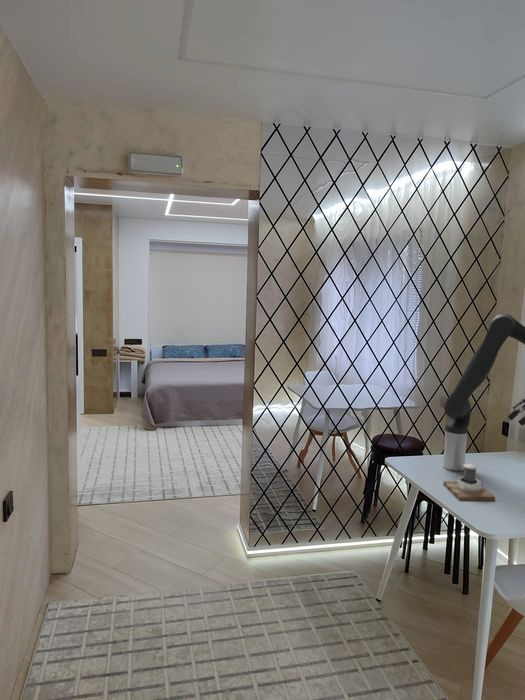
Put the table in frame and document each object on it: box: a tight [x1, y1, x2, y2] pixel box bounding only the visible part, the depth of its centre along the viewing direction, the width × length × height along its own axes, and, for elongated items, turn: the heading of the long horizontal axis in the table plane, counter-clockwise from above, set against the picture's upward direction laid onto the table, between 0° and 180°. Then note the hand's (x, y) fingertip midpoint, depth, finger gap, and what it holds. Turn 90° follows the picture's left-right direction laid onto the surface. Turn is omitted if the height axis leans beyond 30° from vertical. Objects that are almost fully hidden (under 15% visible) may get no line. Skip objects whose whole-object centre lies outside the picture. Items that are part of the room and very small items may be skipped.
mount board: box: [443, 480, 496, 502], centre depth 201 cm, size 16×14×2 cm
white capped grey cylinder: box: [462, 463, 478, 483], centre depth 201 cm, size 5×5×10 cm
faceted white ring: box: [456, 476, 482, 493], centre depth 201 cm, size 9×9×4 cm
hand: (514, 421), depth 203 cm, fingers open, 8 cm apart
